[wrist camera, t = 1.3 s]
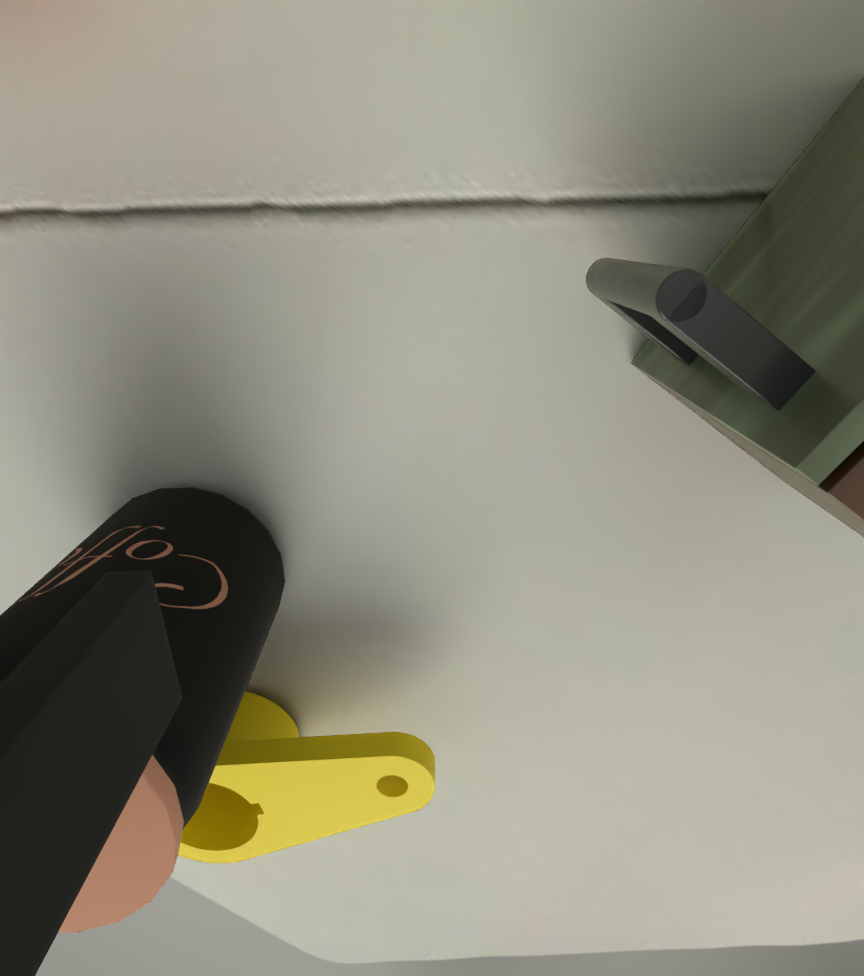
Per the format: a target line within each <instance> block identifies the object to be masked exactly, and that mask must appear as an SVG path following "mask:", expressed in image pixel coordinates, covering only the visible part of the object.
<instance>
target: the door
mask: <svg viewBox="0 0 864 976" xmlns="http://www.w3.org/2000/svg"><path fill="white" fill-rule="evenodd" d="M586 284H587V287H588V289H589V290H590V292H591V293H592V294H594V295H595V296H596V297H597V298H599V299H600V300H601V301H603V302H604V303H605V304H606V305H608V306H609V307H610V308H611V309H613V310H614V311H615V312H617V313H618V314H619V315H620V316H622V317H623V318H624V319H625V320H627V321H628V322H629V323H631V324H632V325H633V326H634V327H636V328H637V329H638V330H639V331H641V332H642V333H643V334H644V335H646V336H647V337H648V338H650V340H649V341H648V342H647V343H646V345H645V346H644V347H643V348H642V349H641V351H640V352H639V353H638V354H637V355H636V357H635V358H634V359H633V360H632V362H631V364H632V365H634V366H635V367H636V368H638V369H639V370H640V371H641V372H643V373H644V374H646V375H647V376H649V377H650V378H652V379H653V380H655V381H656V382H658V383H659V384H661V385H663V386H664V387H666V388H667V389H669V390H670V391H672V392H673V393H675V394H676V395H678V396H679V397H681V398H683V399H684V400H686V401H687V402H689V403H690V404H692V405H693V406H695V407H696V408H698V409H699V410H701V411H703V412H704V413H706V414H707V415H709V416H710V417H712V418H713V419H715V420H716V421H718V422H719V423H721V424H723V425H724V426H726V427H727V428H729V429H730V430H732V431H733V432H735V433H736V434H738V435H739V436H741V437H743V438H744V439H746V440H747V441H749V442H750V443H752V444H753V445H755V446H756V447H758V448H759V449H761V450H763V451H764V452H766V453H767V454H769V455H770V456H772V457H773V458H775V459H776V460H778V461H780V462H781V463H783V464H784V465H786V466H787V467H789V468H790V469H792V470H793V471H795V472H796V473H798V474H800V475H801V476H803V477H804V478H806V479H807V480H809V481H810V482H812V483H813V484H815V485H819V484H820V483H821V482H822V481H823V480H824V479H825V478H826V477H827V476H828V475H829V474H830V473H831V472H832V471H833V470H834V469H836V468H837V467H838V466H839V465H840V464H841V463H842V462H843V461H844V460H845V459H846V458H847V457H848V456H849V455H850V454H851V453H852V452H853V451H854V450H855V449H856V448H857V447H858V446H859V445H860V444H861V443H862V442H863V441H864V79H863V80H862V81H861V82H860V84H859V85H858V86H857V87H856V89H855V90H854V91H853V92H852V93H851V95H850V96H849V97H848V98H847V100H846V101H845V102H844V103H843V104H842V106H841V107H840V108H839V109H838V111H837V112H836V113H835V114H834V115H833V117H832V118H831V119H830V120H829V121H828V123H827V124H826V125H825V126H824V128H823V129H822V130H821V131H820V132H819V134H818V135H817V136H816V137H815V139H814V140H813V141H812V142H811V143H810V145H809V146H808V147H807V148H806V150H805V151H804V152H803V153H802V154H801V156H800V157H799V158H798V159H797V160H796V162H795V163H794V164H793V165H792V167H791V168H790V169H789V170H788V171H787V173H786V174H785V175H784V176H783V178H782V179H781V180H780V181H779V182H778V184H777V185H776V186H775V187H774V189H773V190H772V191H771V192H770V193H769V195H768V196H767V197H766V198H765V199H764V201H763V202H762V203H761V204H760V206H759V207H758V208H757V209H756V210H755V212H754V213H753V214H752V215H751V217H750V218H749V219H748V220H747V221H746V223H745V224H744V225H743V226H742V228H741V229H740V230H739V231H738V232H737V234H736V235H735V236H734V237H733V238H732V240H731V241H730V242H729V243H728V245H727V246H726V247H725V248H724V249H723V251H722V252H721V253H720V254H719V256H718V257H717V258H716V259H715V260H714V262H713V263H712V264H711V265H710V267H709V268H708V269H707V270H706V271H705V273H704V274H703V275H701V274H700V273H699V272H697V271H695V270H691V269H685V268H677V267H670V266H663V265H656V264H648V263H641V262H634V261H626V260H619V259H612V258H602V259H599V260H597V261H596V262H594V263H593V264H592V265H591V266H590V268H589V270H588V272H587V275H586Z"/></svg>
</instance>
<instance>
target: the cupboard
mask: <svg viewBox="0 0 864 976" xmlns="http://www.w3.org/2000/svg"><path fill="white" fill-rule="evenodd" d="M648 377H649V376H648ZM649 378H650V377H649ZM650 379H652V378H650ZM652 380H653V379H652ZM653 381H654V382H656V381H655V380H653ZM656 383H657V384H658V385H660V386H661V387H662V388H663V389H665V390H666V391H667V392H669V393H670V394H671V395H673V396H674V397H675V398H676V399H678V400H679V401H680V402H682V403H683V404H684V405H686V406H687V407H688V408H689V409H691V410H692V411H693V412H695V413H696V414H697V415H699V416H700V417H701V418H702V419H704V420H705V421H706V422H708V423H709V424H710V425H712V426H713V427H714V428H715V429H717V430H718V431H719V432H721V433H722V434H723V435H725V436H726V437H727V438H729V439H730V440H731V441H732V442H734V443H735V444H736V445H738V446H739V447H740V448H742V449H743V450H744V451H745V452H747V453H748V454H749V455H751V456H752V457H753V458H755V459H756V460H757V461H758V462H760V463H761V464H762V465H764V466H765V467H766V468H768V469H769V470H770V471H771V472H773V473H774V474H775V475H777V476H778V477H779V478H781V479H782V480H783V481H785V482H786V483H787V484H788V485H790V486H791V487H793V488H794V489H795V490H797V491H798V492H800V493H801V494H803V495H804V496H806V497H807V498H808V499H810V500H811V501H813V502H814V503H816V504H817V505H818V506H820V507H821V508H823V509H824V510H826V511H827V512H828V513H830V514H831V515H833V516H834V517H836V518H837V519H838V520H840V521H841V522H843V523H844V524H846V525H847V526H849V527H850V528H851V529H853V530H854V531H856V532H857V533H859V534H860V535H861V536H863V537H864V441H863V442H862V443H861V444H860V445H859V446H858V447H857V448H856V449H855V450H854V451H853V452H852V453H851V454H850V455H849V456H848V457H847V458H846V459H845V460H844V461H843V462H842V463H841V464H840V465H839V466H838V467H837V468H836V469H834V470H833V471H832V472H831V473H830V474H829V475H828V476H827V477H826V478H825V479H824V480H823V481H822V482H821V483H820V484H819V485H815V484H813V483H812V482H810V481H809V480H807V479H806V478H804V477H803V476H801V475H800V474H798V473H796V472H795V471H793V470H792V469H790V468H789V467H787V466H786V465H784V464H783V463H781V462H780V461H778V460H776V459H775V458H773V457H772V456H770V455H769V454H767V453H766V452H764V451H763V450H761V449H759V448H758V447H756V446H755V445H753V444H752V443H750V442H749V441H747V440H746V439H744V438H743V437H741V436H739V435H738V434H736V433H735V432H733V431H732V430H730V429H729V428H727V427H726V426H724V425H723V424H721V423H719V422H718V421H716V420H715V419H713V418H712V417H710V416H709V415H707V414H706V413H704V412H703V411H701V410H699V409H698V408H696V407H695V406H693V405H692V404H690V403H689V402H687V401H686V400H684V399H683V398H681V397H679V396H678V395H676V394H675V393H673V392H672V391H670V390H669V389H667V388H666V387H664V386H663V385H661V384H659V383H658V382H656Z"/></svg>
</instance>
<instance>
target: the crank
mask: <svg viewBox="0 0 864 976" xmlns="http://www.w3.org/2000/svg"><path fill="white" fill-rule="evenodd" d="M434 789H435V757H434V754H433V752H432V750H431V749H430V747H429V746H428V745H427V744H426V743H425V742H423V741H422V740H420V739H419V738H417V737H415V736H412V735H409V734H406V733H401V732H383V733H366V734H349V735H332V736H315V737H300V735H299V732H298V729H297V727H296V725H295V723H294V721H293V720H292V718H291V717H290V716H289V715H288V714H287V713H286V712H285V711H284V710H283V709H282V708H281V707H280V706H278V705H277V704H275V703H274V702H272V701H270V700H268V699H266V698H264V697H262V696H259V695H257V694H254V693H250V692H246V691H245V693H244V695H243V698H242V700H241V703H240V705H239V708H238V710H237V713H236V715H235V718H234V721H233V723H232V726H231V728H230V731H229V733H228V736H227V738H226V741H225V743H224V746H223V748H222V751H221V753H220V756H219V758H218V761H217V763H216V766H215V768H214V771H213V773H212V776H211V778H210V781H209V783H208V786H207V788H206V791H205V793H204V796H203V798H202V801H201V803H200V806H199V808H198V809H197V811H196V812H195V814H194V815H193V817H192V818H191V819H190V821H189V822H188V823H187V825H186V826H185V827H184V829H183V831H182V836H181V841H180V847H179V852H178V855H179V856H182V857H185V858H188V859H192V860H195V861H201V862H207V863H233V862H239V861H243V860H246V859H250V858H253V857H257V856H260V855H264V854H267V853H271V852H274V851H278V850H281V849H285V848H288V847H292V846H295V845H299V844H302V843H306V842H309V841H313V840H316V839H320V838H323V837H327V836H330V835H334V834H337V833H341V832H344V831H348V830H351V829H355V828H358V827H362V826H365V825H369V824H372V823H376V822H379V821H383V820H386V819H390V818H393V817H397V816H400V815H404V814H407V813H411V812H414V811H416V810H418V809H420V808H422V807H423V806H425V805H426V804H427V803H428V802H429V801H430V799H431V798H432V796H433V794H434Z"/></svg>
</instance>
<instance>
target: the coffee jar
mask: <svg viewBox="0 0 864 976" xmlns="http://www.w3.org/2000/svg"><path fill="white" fill-rule="evenodd" d="M146 570H151V571H152V575H153V579H154V583H155V587H156V591H157V595H158V599H159V604H160V608H161V612H162V616H163V620H164V624H165V628H166V632H167V636H168V641H169V645H170V649H171V653H172V657H173V661H174V665H175V669H176V674H177V678H178V682H179V686H180V690H181V694H182V700H181V702H180V704H179V706H178V708H177V710H176V711H175V713H174V715H173V717H172V719H171V721H170V723H169V725H168V726H167V728H166V730H165V732H164V734H163V736H162V738H161V740H160V741H159V743H158V745H157V747H156V749H155V751H154V753H153V755H152V756H151V758H150V760H149V762H148V764H147V766H146V768H145V770H144V772H143V773H142V775H141V777H140V779H139V781H138V783H137V785H136V787H135V788H134V790H133V792H132V794H131V796H130V798H129V800H128V802H127V803H126V805H125V807H124V809H123V811H122V813H121V815H120V817H119V818H118V820H117V822H116V824H115V826H114V828H113V830H112V832H111V834H110V835H109V837H108V839H107V841H106V843H105V845H104V847H103V849H102V850H101V852H100V854H99V856H98V858H97V860H96V862H95V864H94V865H93V867H92V869H91V871H90V873H89V875H88V877H87V879H86V881H85V882H84V884H83V886H82V888H81V890H80V892H79V894H78V896H77V897H76V899H75V901H74V903H73V905H72V907H71V909H70V911H69V912H68V914H67V916H66V918H65V920H64V922H63V924H62V926H61V927H60V929H59V931H58V933H61V932H62V933H63V932H81V931H84V930H88V929H92V928H96V927H99V926H103V925H107V924H111V923H115V922H119V921H120V920H122V919H124V918H125V917H127V916H128V915H130V914H132V913H133V912H135V911H137V910H138V909H140V908H141V907H143V906H145V905H147V904H148V903H150V902H151V901H152V899H153V898H154V897H155V895H156V894H157V893H158V891H159V890H160V889H161V887H162V886H163V885H164V883H165V882H166V881H167V879H168V878H169V877H170V875H171V874H172V873H173V869H174V866H175V863H176V859H177V856H178V852H179V847H180V841H181V836H182V831H183V829H184V827H185V826H186V825H187V823H188V822H189V821H190V819H191V818H192V817H193V815H194V814H195V812H196V811H197V809H198V808H199V806H200V803H201V801H202V798H203V796H204V793H205V791H206V788H207V786H208V783H209V781H210V778H211V776H212V773H213V771H214V768H215V766H216V763H217V761H218V758H219V756H220V753H221V751H222V748H223V746H224V743H225V741H226V738H227V736H228V733H229V731H230V728H231V726H232V723H233V721H234V718H235V715H236V713H237V710H238V708H239V705H240V703H241V700H242V698H243V695H244V693H245V690H246V688H247V685H248V683H249V680H250V678H251V675H252V673H253V670H254V668H255V665H256V663H257V660H258V658H259V655H260V653H261V650H262V648H263V645H264V643H265V640H266V638H267V635H268V633H269V630H270V627H271V625H272V622H273V620H274V617H275V615H276V612H277V610H278V607H279V605H280V600H281V596H282V592H283V587H284V583H285V580H284V573H283V566H282V559H281V555H280V553H279V551H278V549H277V547H276V545H275V543H274V541H273V539H272V537H271V535H270V533H269V531H268V530H267V529H266V528H265V527H264V526H263V525H262V524H261V523H260V522H259V521H258V520H257V518H256V517H255V516H254V515H253V514H252V513H251V512H250V511H249V510H248V509H246V508H244V507H242V506H241V505H239V504H237V503H235V502H233V501H232V500H230V499H228V498H226V497H225V496H223V495H220V494H216V493H212V492H208V491H204V490H200V489H197V488H164V489H157V490H154V491H152V492H149V493H146V494H143V495H140V496H138V497H135V498H132V499H131V500H130V501H129V502H128V503H126V504H125V505H124V506H123V507H122V508H120V509H119V510H118V511H117V512H116V513H114V514H113V515H112V516H111V517H110V518H109V519H108V520H106V521H105V522H104V523H103V524H102V525H101V526H100V527H99V528H97V529H96V530H95V531H94V532H93V533H92V534H91V535H90V536H89V537H87V538H86V539H85V540H84V541H83V542H82V543H81V544H80V545H78V546H77V547H76V548H75V549H74V550H73V551H72V552H71V553H70V554H68V555H67V556H66V557H65V558H64V559H63V560H62V561H61V562H60V563H58V564H57V565H56V566H55V567H54V568H53V569H52V570H51V571H49V572H48V573H47V574H46V575H45V576H44V577H43V578H42V579H41V580H39V581H38V582H37V583H36V584H35V585H34V586H33V587H32V588H31V589H29V590H28V591H27V592H26V593H25V594H24V595H23V596H22V597H20V598H19V599H18V600H17V601H16V602H15V603H14V604H13V605H12V606H10V607H9V608H8V609H7V610H6V611H5V612H4V613H3V614H1V615H0V683H1V682H2V681H3V680H4V679H5V678H6V677H7V676H8V675H9V674H10V673H11V672H12V671H13V670H14V669H15V668H16V667H17V666H18V664H19V663H20V662H21V661H22V660H23V659H24V658H25V657H26V656H27V655H28V654H29V653H30V652H31V651H32V650H33V649H34V648H35V647H36V646H37V645H38V644H39V642H40V641H41V640H42V639H43V638H44V637H45V636H46V635H47V634H48V633H49V632H50V631H51V630H52V629H53V628H54V627H55V626H56V625H57V624H58V623H59V622H60V620H61V619H62V618H63V617H64V616H65V615H66V614H67V613H68V612H69V611H70V610H71V609H72V608H73V607H74V606H75V605H76V604H77V603H78V602H79V601H80V600H81V598H82V597H83V596H84V595H85V594H86V593H87V592H88V591H89V590H90V589H91V588H92V587H93V586H94V585H95V584H96V583H97V582H98V581H99V580H100V579H101V578H102V576H103V575H104V574H105V573H106V572H117V571H146Z"/></svg>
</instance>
